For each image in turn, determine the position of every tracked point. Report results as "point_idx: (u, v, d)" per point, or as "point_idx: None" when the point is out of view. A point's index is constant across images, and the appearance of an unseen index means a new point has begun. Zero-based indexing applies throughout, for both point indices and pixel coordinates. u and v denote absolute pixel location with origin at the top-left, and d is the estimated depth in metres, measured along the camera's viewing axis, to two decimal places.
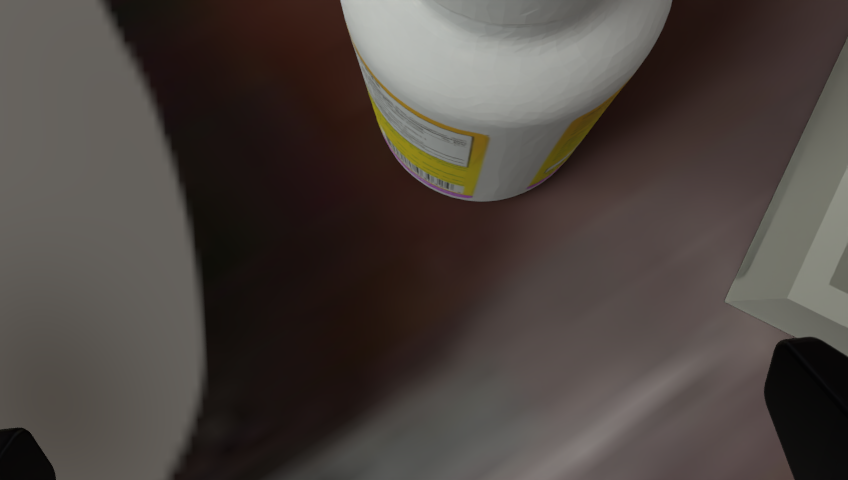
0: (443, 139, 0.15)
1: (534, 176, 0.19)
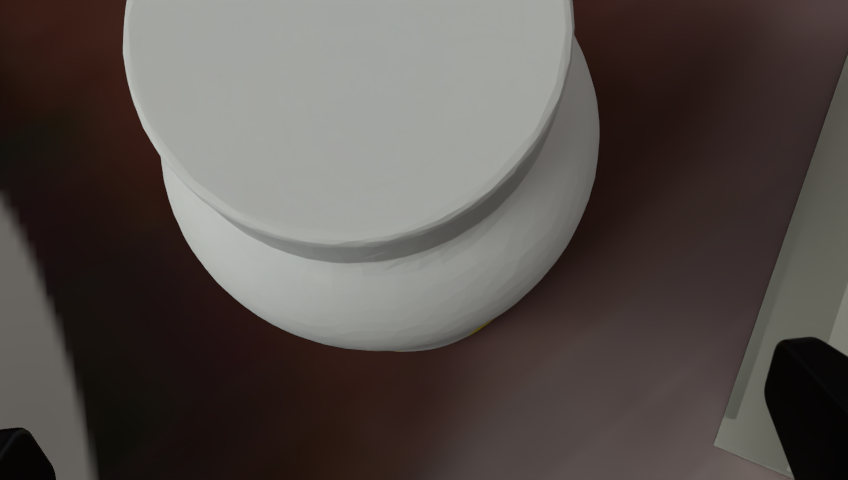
0: None
1: (469, 334, 0.16)
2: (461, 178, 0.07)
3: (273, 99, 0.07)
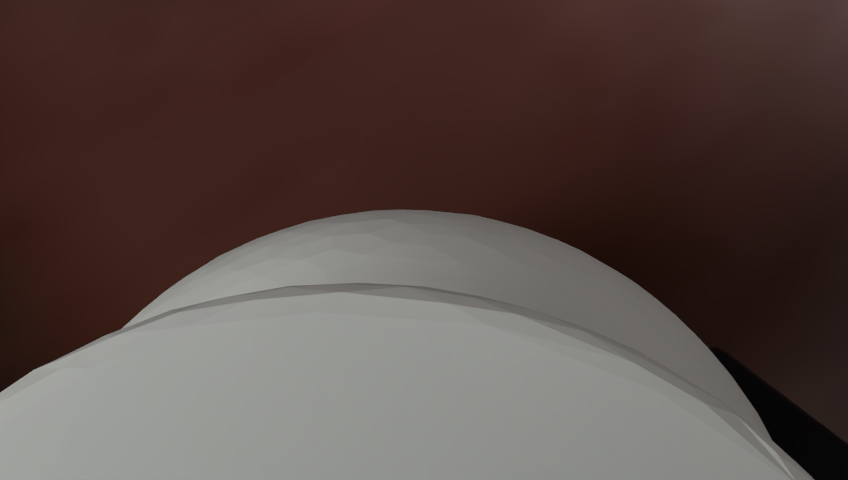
0: None
1: None
2: None
3: None
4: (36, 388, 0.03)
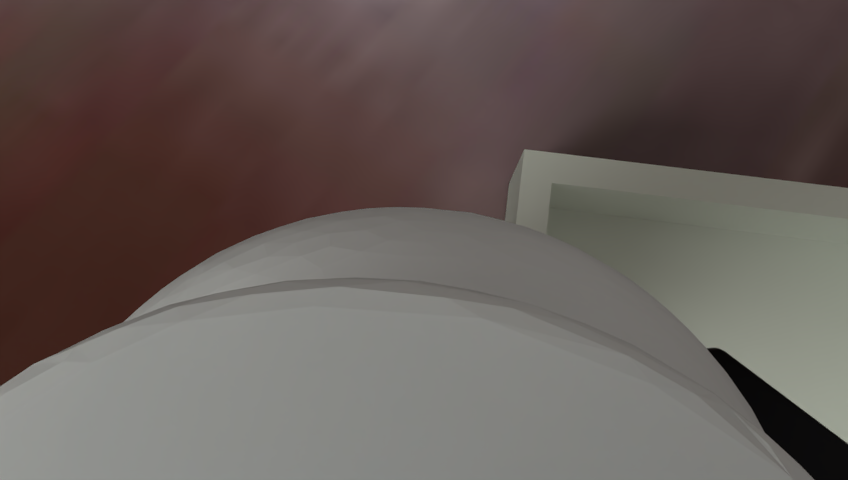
0: None
1: None
2: None
3: None
4: (36, 382, 0.03)
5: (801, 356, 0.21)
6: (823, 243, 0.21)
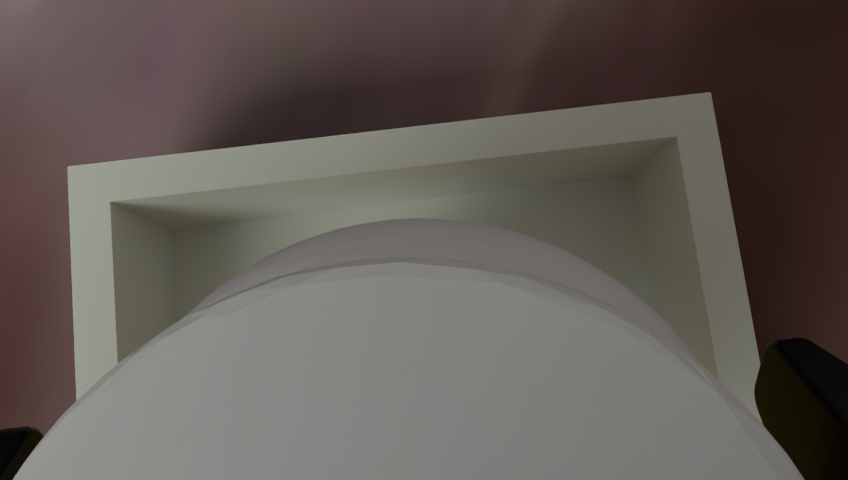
0: None
1: None
2: None
3: None
4: (188, 329, 0.04)
5: None
6: (532, 190, 0.17)
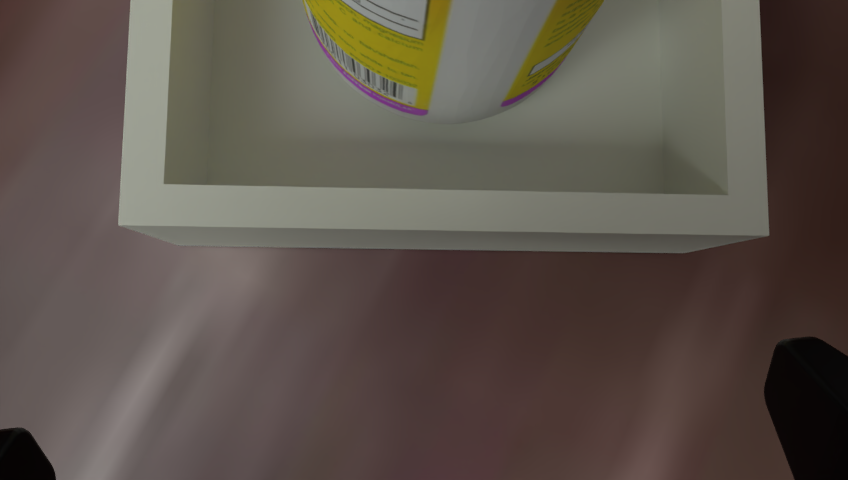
0: None
1: (515, 77, 0.14)
2: None
3: None
4: None
5: None
6: None
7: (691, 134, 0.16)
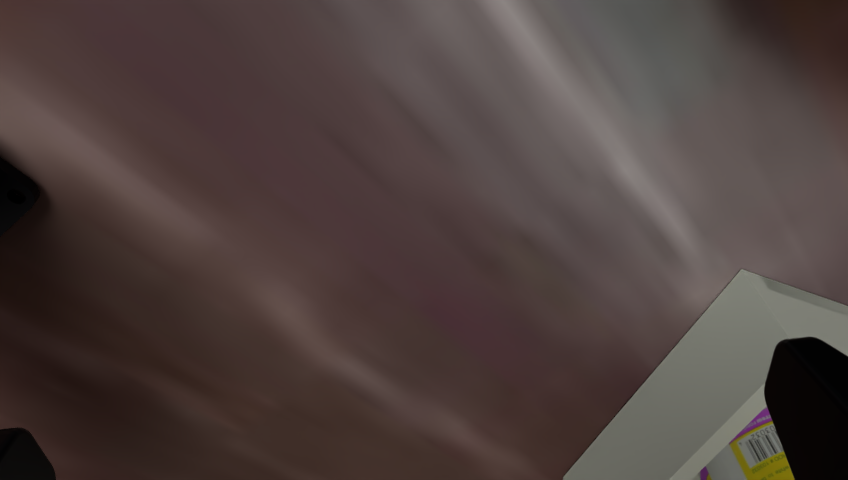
0: None
1: None
2: None
3: None
4: None
5: None
6: None
7: None
